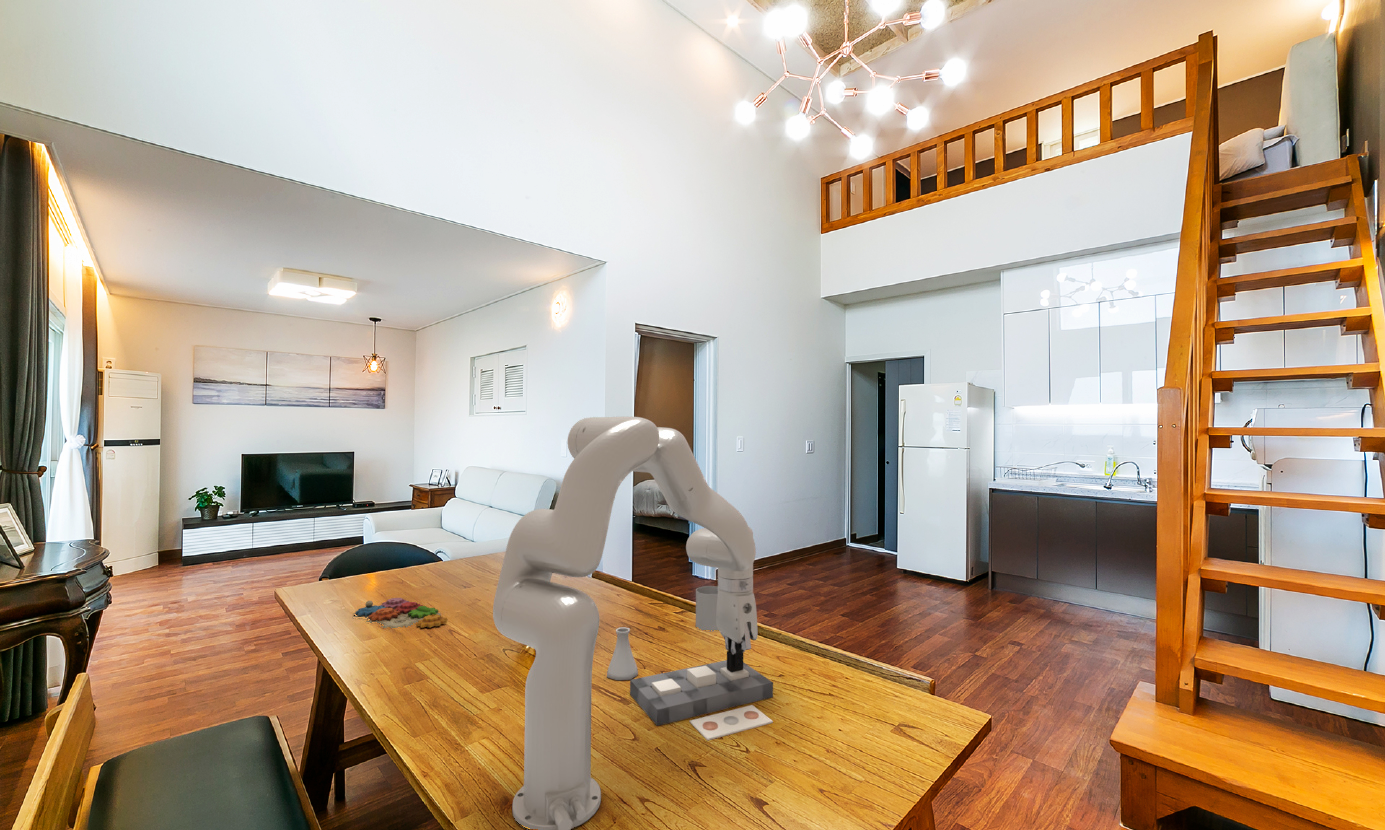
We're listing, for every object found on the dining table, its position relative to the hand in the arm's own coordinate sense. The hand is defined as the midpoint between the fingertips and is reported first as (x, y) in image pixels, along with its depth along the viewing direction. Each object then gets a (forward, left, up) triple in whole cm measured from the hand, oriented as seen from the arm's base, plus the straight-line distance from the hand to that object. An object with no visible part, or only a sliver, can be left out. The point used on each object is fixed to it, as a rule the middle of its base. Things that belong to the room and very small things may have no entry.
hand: (735, 670), depth 123 cm
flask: (+17, +19, -4) cm, 26 cm away
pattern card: (-12, +8, -4) cm, 15 cm away
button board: (0, +8, -4) cm, 9 cm away
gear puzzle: (+80, +62, -5) cm, 102 cm away
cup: (+36, -14, -4) cm, 39 cm away
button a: (0, 0, -4) cm, 4 cm away
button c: (0, +16, -4) cm, 17 cm away
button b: (0, +8, -2) cm, 9 cm away
